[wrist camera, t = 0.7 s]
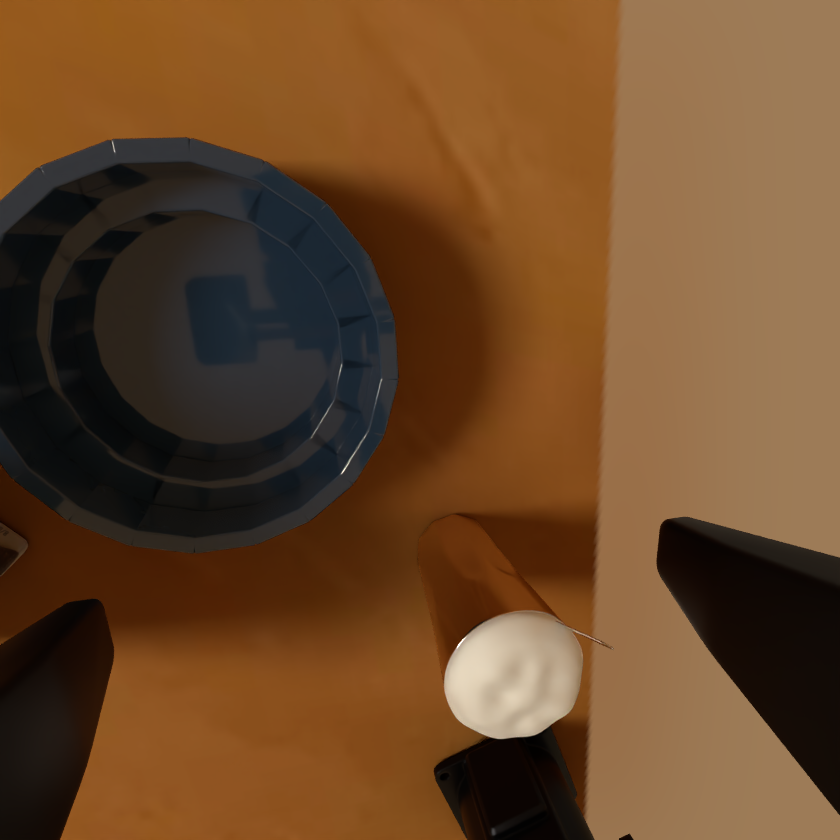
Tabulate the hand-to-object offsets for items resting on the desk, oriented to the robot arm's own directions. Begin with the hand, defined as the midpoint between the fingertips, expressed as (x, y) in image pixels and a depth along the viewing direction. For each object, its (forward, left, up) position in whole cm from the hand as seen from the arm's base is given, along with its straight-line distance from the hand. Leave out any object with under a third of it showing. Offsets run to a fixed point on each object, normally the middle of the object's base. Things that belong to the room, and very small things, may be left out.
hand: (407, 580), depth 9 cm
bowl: (+3, +4, -14) cm, 15 cm away
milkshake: (-9, -2, -14) cm, 17 cm away
